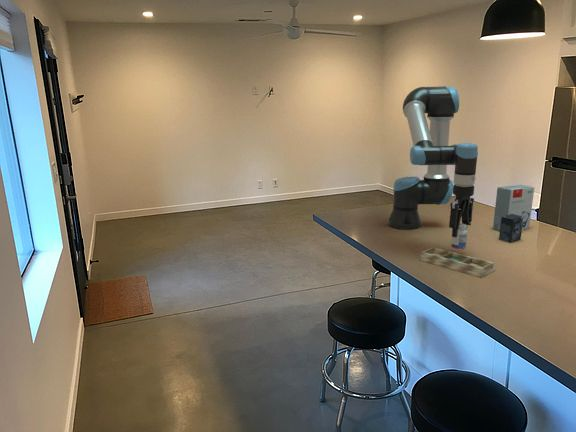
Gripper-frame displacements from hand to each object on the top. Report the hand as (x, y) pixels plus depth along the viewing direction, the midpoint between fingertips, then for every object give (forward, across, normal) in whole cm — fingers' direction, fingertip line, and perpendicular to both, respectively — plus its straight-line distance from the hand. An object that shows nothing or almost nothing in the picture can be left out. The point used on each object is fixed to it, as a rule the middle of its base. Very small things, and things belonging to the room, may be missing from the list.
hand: (458, 242), depth 184 cm
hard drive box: (+6, +50, +1) cm, 51 cm away
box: (+6, +34, -6) cm, 34 cm away
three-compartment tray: (+5, -12, -6) cm, 14 cm away
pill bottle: (+3, 0, 0) cm, 3 cm away
